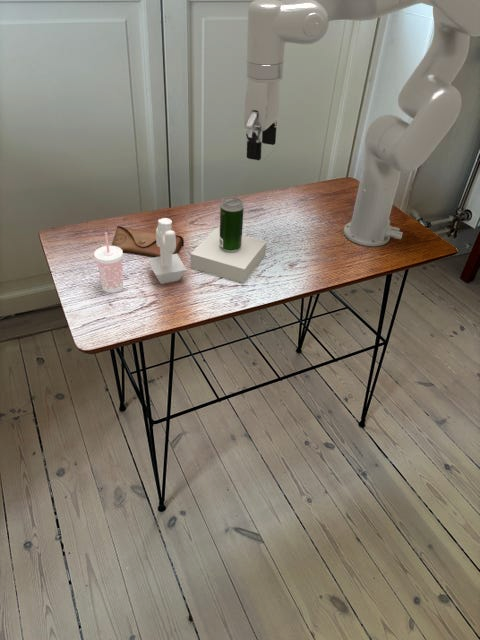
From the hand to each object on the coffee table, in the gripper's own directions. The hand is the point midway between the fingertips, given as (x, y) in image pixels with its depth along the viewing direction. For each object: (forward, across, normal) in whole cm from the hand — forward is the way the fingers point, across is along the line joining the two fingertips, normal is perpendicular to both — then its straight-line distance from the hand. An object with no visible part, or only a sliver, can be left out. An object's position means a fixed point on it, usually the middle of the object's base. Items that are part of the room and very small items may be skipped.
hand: (261, 151), depth 117 cm
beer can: (+21, +10, -4) cm, 24 cm away
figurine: (+25, +22, -14) cm, 36 cm away
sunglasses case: (+25, +14, -25) cm, 38 cm away
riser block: (+25, +10, -4) cm, 27 cm away
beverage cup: (+24, +31, -24) cm, 46 cm away
